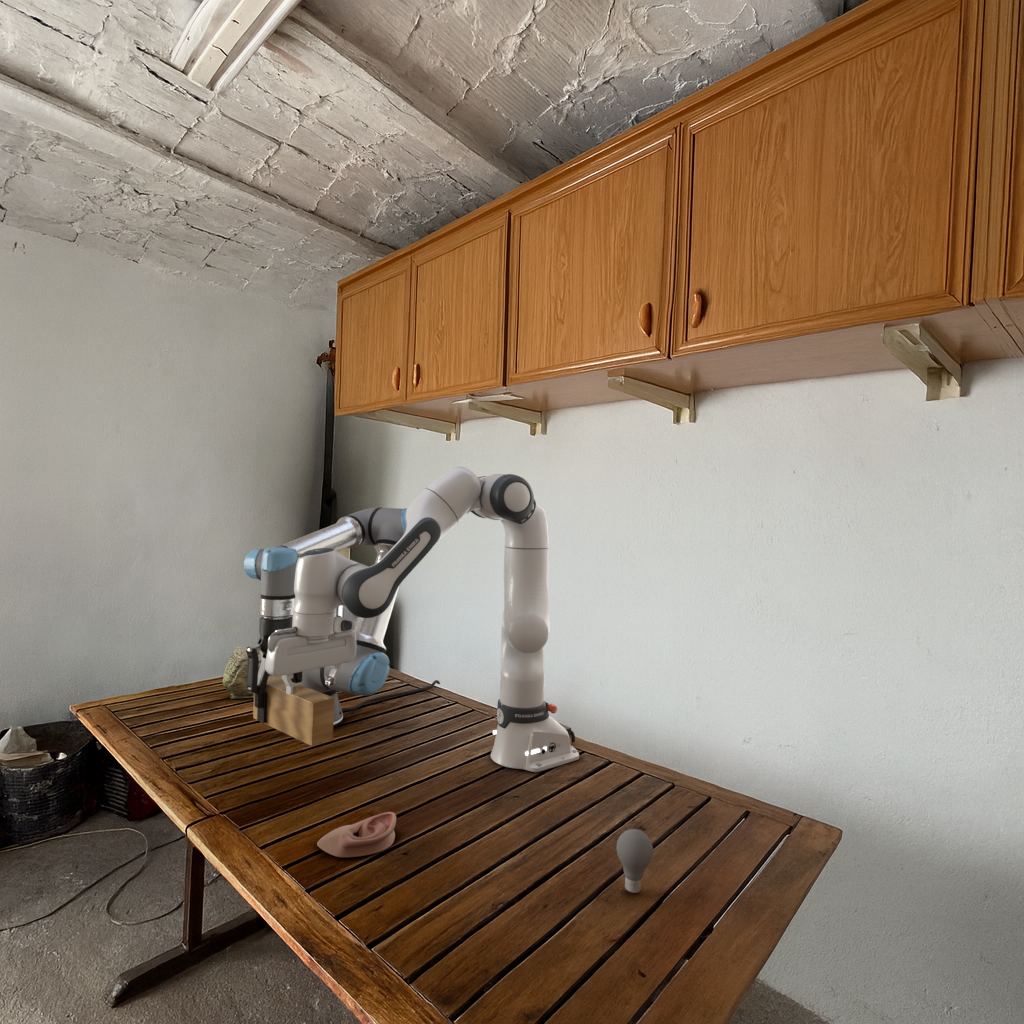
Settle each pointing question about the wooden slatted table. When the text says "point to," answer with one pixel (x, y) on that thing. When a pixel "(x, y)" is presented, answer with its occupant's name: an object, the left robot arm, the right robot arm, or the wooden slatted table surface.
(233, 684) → the fossil
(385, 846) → the anatomical model
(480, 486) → the right robot arm
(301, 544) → the left robot arm
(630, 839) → the light bulb
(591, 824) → the wooden slatted table surface
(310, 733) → the bar
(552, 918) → the wooden slatted table surface
